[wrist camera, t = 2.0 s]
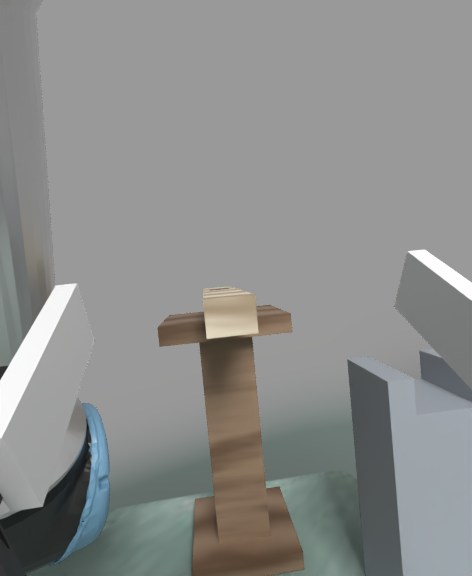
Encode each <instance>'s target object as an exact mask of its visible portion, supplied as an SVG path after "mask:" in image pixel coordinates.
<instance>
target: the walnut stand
mask: <svg viewBox="0 0 472 576" xmlns="http://www.w3.org/2000/svg"><path fill="white" fill-rule="evenodd" d="M256 310H257V321H258V332H259V333H256V334H247V335H238V336H229V337H220V338H211V339H207V337H206V326H205V316H204V312H197V313H187V314H178V315H169V316H168V317H167V318H166V319H165V320H164V322H162V323H161V325H160V326H159V327H158V336H159V345H160V347H161V346H170V345H179V344H189V343H198V342H199V343H200V354H201V364H202V374H203V385H204V395H205V404H206V415H207V425H208V435H209V444H210V456H211V466H212V476H213V486H214V496H213V497H206V498H199V499H195V515H194V538H193V562H192V573H193V576H268V575H274V574H280V573H285V572H291V571H297V570H303V569H304V561H303V551H302V548H301V546H300V543H299V540H298V537H297V534H296V532H295V529H294V526H293V523H292V520H291V518H290V515H289V512H288V509H287V506H286V504H285V501H284V498H283V495H282V493H281V490H280V487H274V488H267V489H266V483H265V472H264V461H263V452H262V440H261V429H260V419H259V407H258V397H257V386H256V375H255V364H254V353H253V343H252V337H253V336H262V335H271V334H279V333H289V332H292V324H291V314H290V313H288V312H286V311H283V310H281V309H278V308H276V307H273V306H271V305H265V306H256Z"/></svg>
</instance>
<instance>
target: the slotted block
mask: <svg viewBox="0 0 472 576" xmlns="http://www.w3.org/2000/svg"><path fill="white" fill-rule="evenodd" d="M347 361H348V373H349V385H350V397H351V409H352V421H353V432H354V445H355V457H356V468H357V481H358V493H359V505H360V517H361V529H362V541H363V553H364V565H365V576H472V390H471V388H470V387H469V386H468V385H467V384H466V383H465V382H464V381H463V380H462V379H461V378H460V377H459V376H458V375H457V373H456V372H455V371H454V370H453V369H452V368H451V367H450V366H449V365H448V364H447V363H446V362H445V361H444V360H443V359H442V357H441V356H440V355H439V354H438V353H437V352H436V351H435V350H434V349H428V350H420V364H421V378H422V379H416V380H414V378H412V377H410V376H408V375H405V374H403V373H401V372H399V371H397V370H395V369H393V368H391V367H389V366H386V365H384V364H383V363H380V362H378V361H376V360H374V359H372V358H370V357H360V358H351V359H347Z"/></svg>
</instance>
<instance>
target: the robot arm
mask: <svg viewBox="0 0 472 576" xmlns="http://www.w3.org/2000/svg"><path fill="white" fill-rule="evenodd" d="M42 1H43V0H0V576H26V574H27V573H30V572H32V571H34V570H37V569H39V568H41V567H44V566H46V565H54V564H57V563H59V562H61V561H62V560H65V559H66V558H67V557H68V556H69V555H70V554H71V553H73V552H75V551H77V550H80V549H82V548H84V547H86V546H88V545H89V544H91V543H92V542H93V541H94V540H95V539H96V538H97V537H98V536H99V535H100V533H101V531H102V529H103V527H104V525H105V522H106V519H107V515H108V509H109V501H110V484H109V480H108V474H109V453H108V446H107V439H106V434H105V430H104V426H103V423H102V419H101V417H100V414H99V412H98V410H97V409H96V408H95V407H94V406H93V405H91V404H89V403H81V402H80V400H79V399H78V398H77V396H78V392H79V390H80V387H81V383H82V380H83V377H84V374H85V371H86V367H87V364H88V361H89V358H90V355H91V351H92V348H93V345H94V342H95V339H94V336H93V333H92V330H91V326H90V323H89V320H88V317H87V314H86V310H85V308H84V304H83V301H82V298H81V294H80V291H79V288H78V285H77V283H76V284H67V285H56V286H55V274H54V259H53V245H52V231H51V217H50V203H49V189H48V175H47V160H46V146H45V133H44V117H43V103H42V90H41V75H40V61H39V47H38V33H37V19H36V13H37V11H38V9H39V7H40V5H41V3H42ZM394 307H395V308H396V309H397V310H398V311H399V312H400V314H402V316H403V317H404V318H405V319H406V320H407V321H408V322H409V323H410V324H411V325H412V326H413V327H414V329H416V331H417V332H418V333H419V334H420V335H421V336H422V337H423V338H424V339H425V340H426V341H427V342H428V344H429V345H430V346H431V347H432V348H433V349H434V350H435V351H436V352H437V353H438V354H439V355H440V356H441V357H442V359H443V360H444V361H445V362H446V363H447V364H448V365H449V366H450V367H451V368H452V369H453V370H454V371H455V372H456V373H457V375H458V376H459V377H460V378H461V379H462V380H463V381H464V382H465V383H466V384H467V385H468V386H469V387H470V388H471V390H472V283H471V282H470V281H469V280H467V279H466V278H464V277H463V276H461V275H460V274H459V273H457V272H456V271H454V270H453V269H451V268H450V267H449V266H447V265H446V264H444V263H443V262H442V261H440V260H439V259H437V258H436V257H435V256H433V255H432V254H430V253H429V252H427V251H426V250H416V251H408V252H407V255H406V259H405V264H404V267H403V272H402V276H401V280H400V284H399V288H398V293H397V297H396V302H395V305H394Z"/></svg>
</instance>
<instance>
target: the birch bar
mask: <svg viewBox="0 0 472 576" xmlns="http://www.w3.org/2000/svg"><path fill="white" fill-rule="evenodd" d="M203 306H204V316H205V326H206V337H207V339H211V338H220V337H229V336H238V335H247V334H256V333H259V332H258V321H257V310H256V300H255V294H252V293H249V292H245V291H243V290H240V289H237V288H233V287H220V288H210V289H204V293H203Z"/></svg>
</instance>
